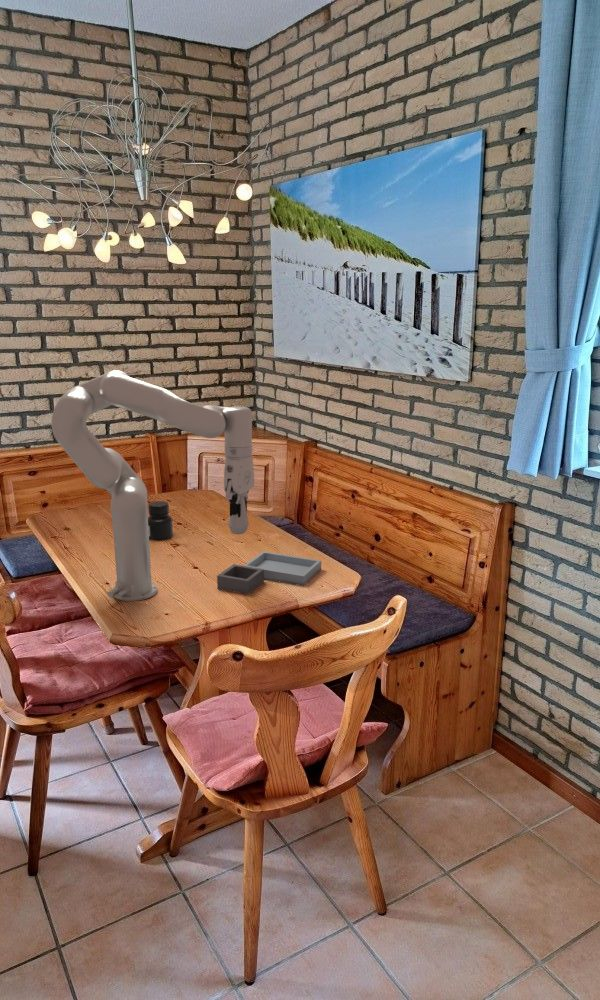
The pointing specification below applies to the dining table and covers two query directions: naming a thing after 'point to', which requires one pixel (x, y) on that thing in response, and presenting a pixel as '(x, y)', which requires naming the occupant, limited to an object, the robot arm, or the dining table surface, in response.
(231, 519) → the salt shaker
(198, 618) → the dining table surface
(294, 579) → the tray
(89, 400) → the robot arm
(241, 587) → the holder
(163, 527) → the ink bottle
